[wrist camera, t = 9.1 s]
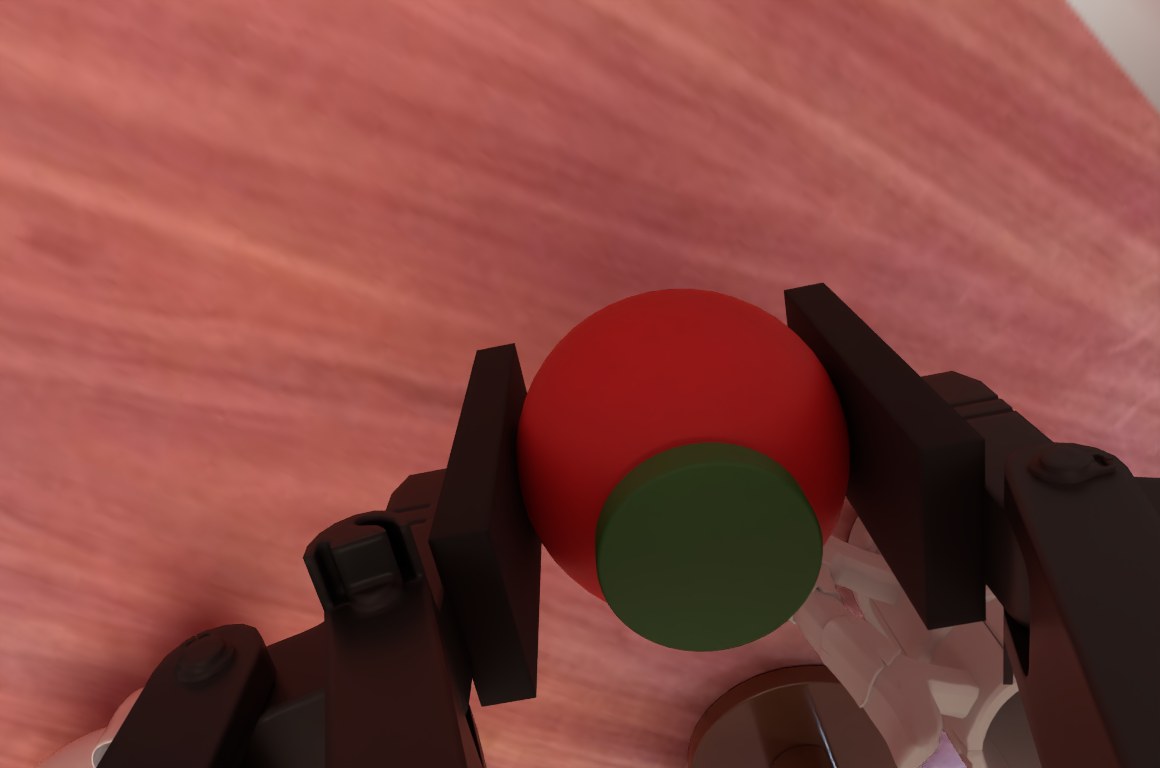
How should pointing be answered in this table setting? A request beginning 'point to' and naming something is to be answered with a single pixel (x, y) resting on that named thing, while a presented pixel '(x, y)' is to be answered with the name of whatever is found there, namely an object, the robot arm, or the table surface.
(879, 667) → the mug
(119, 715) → the teapot
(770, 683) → the dish
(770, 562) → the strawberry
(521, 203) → the table surface
